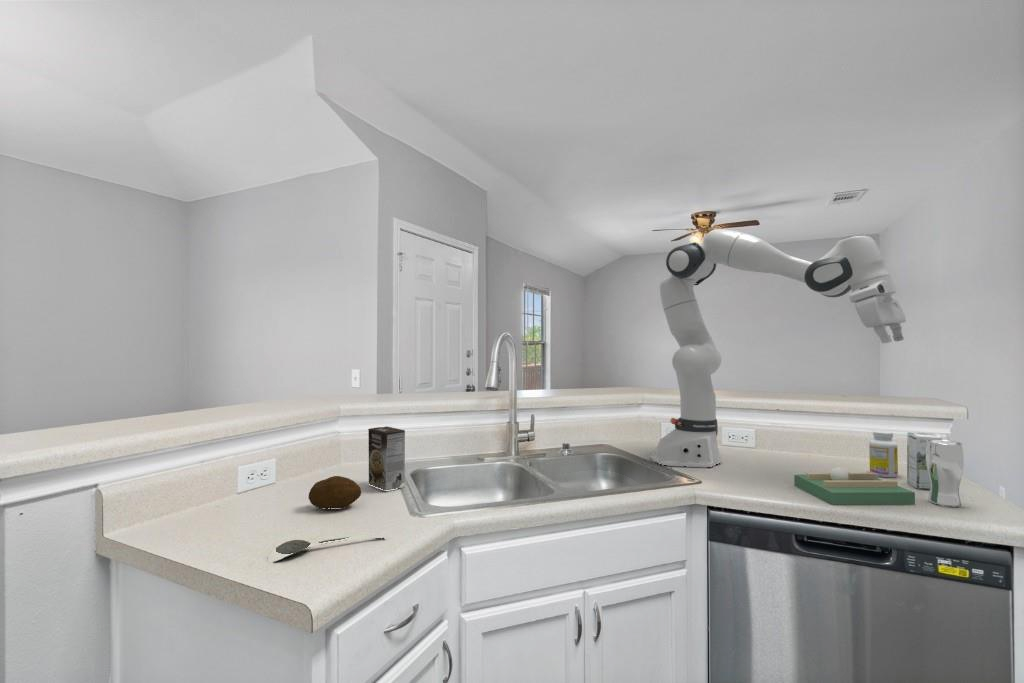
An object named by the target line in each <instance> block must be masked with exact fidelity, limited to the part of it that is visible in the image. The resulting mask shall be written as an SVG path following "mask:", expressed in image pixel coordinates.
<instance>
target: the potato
mask: <svg viewBox="0 0 1024 683" xmlns="http://www.w3.org/2000/svg"><path fill="white" fill-rule="evenodd" d="M361 488H362V487H361V486H360V485H358V483H357V482H355V481H354V480H352V479H350V478H348V477H346V476H342V475H341V476H340V475H334V476H330V477H328V478H325V479H321V480H319V481H317V482H315V483H314V484H313V485H312V486H311V488H310V489H309V490H310V491H309V492H308V497H307V498H308V500H309V502H310V504H311V505H312V506H314V507H316V508H317V507H318V508H317V509H320V508H325V509H324V510H332V509H331V508H342V509H345V508H347V507H348V506H349V507H350V506H351V505H352V504H353V503H355V502H356V501H357V500H358V499H359V498H360V497H361V496H362V495H361V494H362V489H361ZM344 507H345V508H344ZM328 508H330V509H328Z"/></svg>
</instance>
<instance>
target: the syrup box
mask: <svg viewBox="0 0 1024 683" xmlns="http://www.w3.org/2000/svg"><path fill="white" fill-rule="evenodd" d="M906 436H907V438H906V439H907V440H906V441H907V442H906V445H907V448H906V450H907V451H906V452H907V453H906V457H907V459H906V460H907V462H906V463H907V464H906V471H907V473H906V477H907V479H906V481H907V482H906V483H907V484H908V485H910V486H911V487H913V488H915V490H916V489H917V490H918V489H919V490H927V491H928V490H929V491H930V481H929V476H928V472H927V467H926V444H927V440H931V439H935V440H943V438H942V437H941V436H939V435H938V434H936V433H930V432H908V431H907V434H906Z"/></svg>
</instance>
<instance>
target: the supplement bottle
mask: <svg viewBox="0 0 1024 683" xmlns="http://www.w3.org/2000/svg"><path fill="white" fill-rule="evenodd" d="M872 436H873V438H872V439H871V440H869V443H868V444H869V445H868V448H869V450H868V451H869V473H876V474H877V477H879V476H880V478H887V477H888V479H889V478H891V479H892V478H896V477H898V475H899V468H898V467H899V466H898V460H899V459H898V443H897V442H896V441H894V440H893V437H894V433H893V431H886V430H873V432H872Z"/></svg>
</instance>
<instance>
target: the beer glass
mask: <svg viewBox="0 0 1024 683" xmlns="http://www.w3.org/2000/svg"><path fill="white" fill-rule="evenodd" d="M964 461H965V460H964V451H963V443H962V442H959V441H953V440H948V439H947V440H946V439H942V440H935V439H931V440H927V444H926V467H927V472H928V476H929V481H930V490H929V494H928V498H927V501H928V502H929V503H931V504H933V503H934V505H936V504H938V506H940V505H943V506H942V507H946V506H953V507H952V508H957V507H956V506H961V507H962V501H961V496H960V486H961V480H962V476H963V472H964V465H965V463H964ZM954 506H955V507H954Z"/></svg>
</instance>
